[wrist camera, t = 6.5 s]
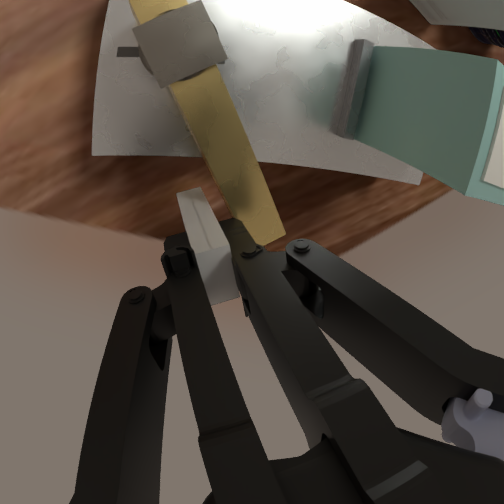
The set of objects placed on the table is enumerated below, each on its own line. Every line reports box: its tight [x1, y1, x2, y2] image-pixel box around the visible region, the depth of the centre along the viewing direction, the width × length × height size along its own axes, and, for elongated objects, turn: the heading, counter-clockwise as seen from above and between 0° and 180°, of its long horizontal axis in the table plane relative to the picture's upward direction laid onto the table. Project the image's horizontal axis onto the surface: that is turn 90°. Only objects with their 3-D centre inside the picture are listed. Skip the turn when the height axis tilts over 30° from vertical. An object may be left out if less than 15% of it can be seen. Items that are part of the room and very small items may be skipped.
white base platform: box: [92, 0, 437, 185], centre depth 18 cm, size 25×12×6 cm, turn 80°
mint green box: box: [354, 46, 504, 206], centre depth 15 cm, size 7×7×10 cm
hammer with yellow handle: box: [128, 0, 286, 246], centre depth 14 cm, size 3×14×5 cm, turn 22°
